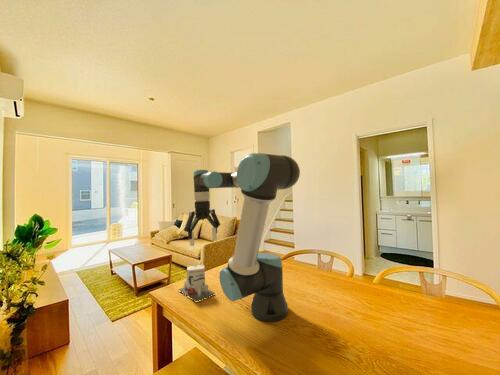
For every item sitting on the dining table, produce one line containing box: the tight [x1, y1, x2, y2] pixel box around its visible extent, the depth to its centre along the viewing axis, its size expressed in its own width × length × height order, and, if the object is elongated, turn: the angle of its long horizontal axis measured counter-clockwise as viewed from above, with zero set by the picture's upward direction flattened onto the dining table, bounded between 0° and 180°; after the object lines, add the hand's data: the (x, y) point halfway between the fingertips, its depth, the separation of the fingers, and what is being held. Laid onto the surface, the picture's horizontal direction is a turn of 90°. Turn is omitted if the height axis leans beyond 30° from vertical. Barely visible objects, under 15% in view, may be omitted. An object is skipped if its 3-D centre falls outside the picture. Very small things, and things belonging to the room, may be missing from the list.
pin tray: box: [178, 279, 216, 301], centre depth 106 cm, size 17×10×5 cm, turn 45°
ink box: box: [186, 264, 206, 294], centre depth 106 cm, size 9×5×12 cm, turn 106°
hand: (203, 242), depth 108 cm, fingers open, 13 cm apart
